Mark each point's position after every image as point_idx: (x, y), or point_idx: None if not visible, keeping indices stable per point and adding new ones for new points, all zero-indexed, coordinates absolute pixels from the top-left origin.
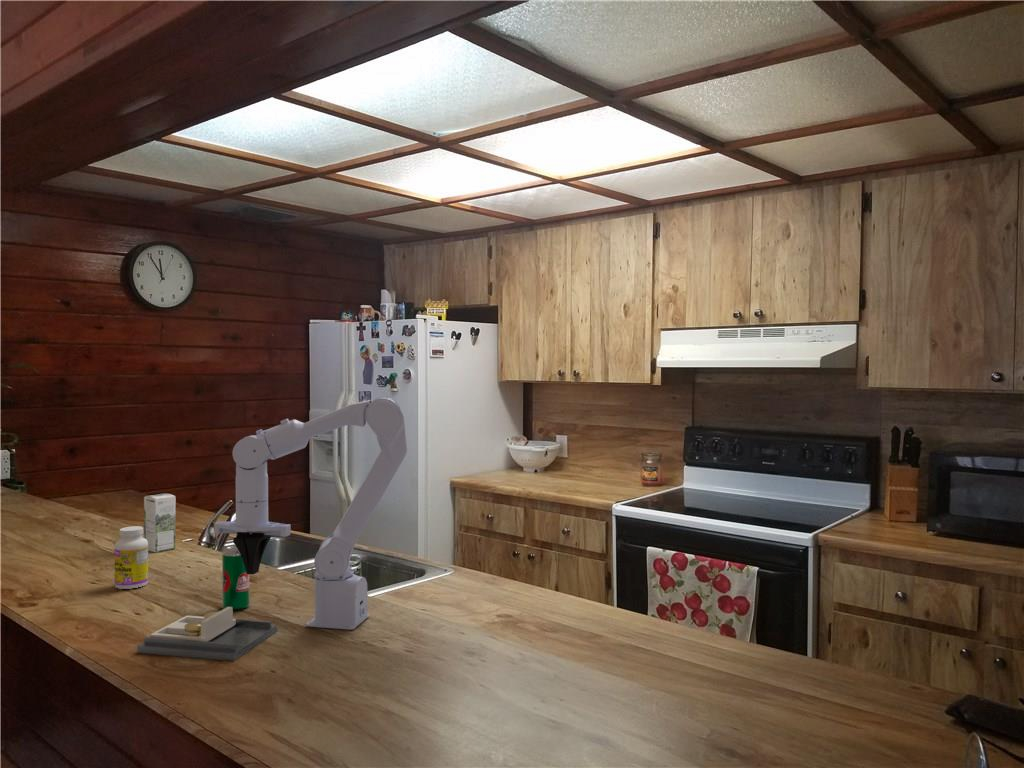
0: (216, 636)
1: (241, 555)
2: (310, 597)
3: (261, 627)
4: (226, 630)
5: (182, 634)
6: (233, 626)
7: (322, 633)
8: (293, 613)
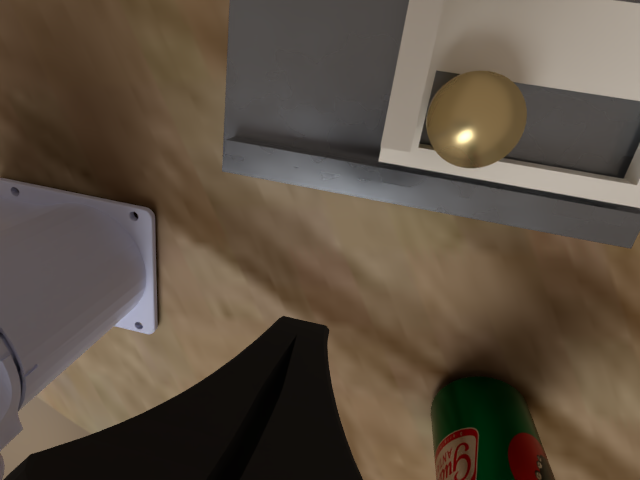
0: None
1: (333, 417)
2: None
3: (269, 142)
4: None
5: None
6: None
7: (76, 152)
8: (255, 339)
